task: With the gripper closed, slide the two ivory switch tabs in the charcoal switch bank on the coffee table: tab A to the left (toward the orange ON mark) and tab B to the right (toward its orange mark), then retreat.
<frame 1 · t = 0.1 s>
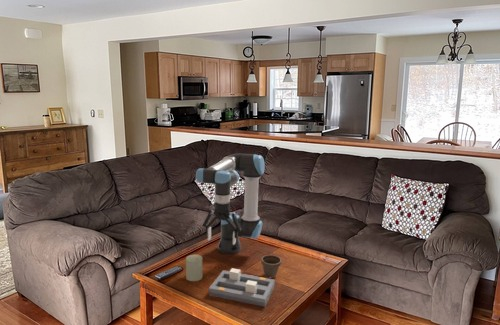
hand: (221, 241, 191), 28 cm above the table, fingers open, 13 cm apart
tab a: (234, 275, 202), point 5 cm above the table, slide at -6.0 cm
switch bank: (242, 290, 197), on the table
tab b: (251, 288, 190), point 5 cm above the table, slide at 6.0 cm
flower pot: (270, 275, 214), on the table
can: (194, 277, 210), on the table
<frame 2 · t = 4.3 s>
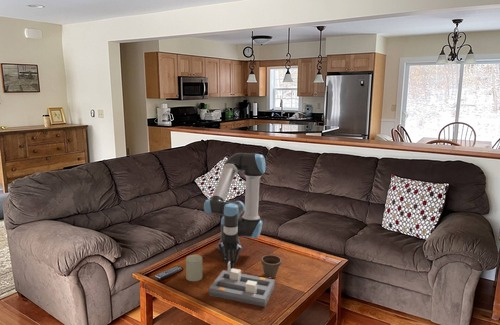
hand: (229, 273, 203), 6 cm above the table, fingers closed
tab a: (235, 275, 202), point 5 cm above the table, slide at -5.9 cm, touching gripper
everything else where it was.
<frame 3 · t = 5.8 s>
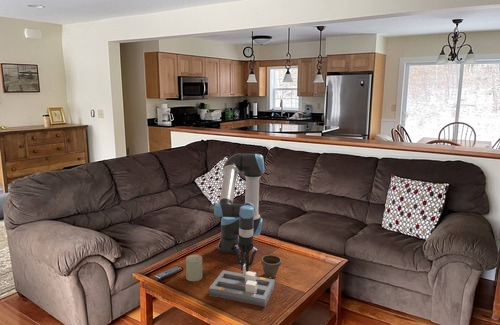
hand: (244, 276, 200), 6 cm above the table, fingers closed
tab a: (250, 278, 200), point 5 cm above the table, slide at 2.8 cm, touching gripper
everything else where it was.
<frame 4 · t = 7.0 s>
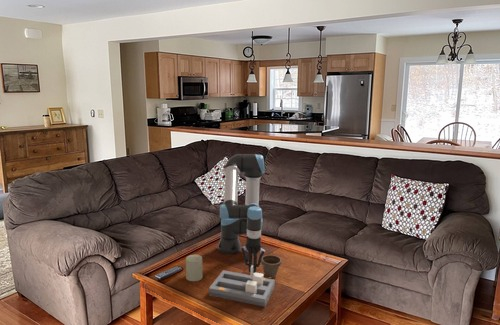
hand: (252, 277, 199), 6 cm above the table, fingers closed
tab a: (258, 280, 199), point 5 cm above the table, slide at 7.0 cm, touching gripper
everything else where it was.
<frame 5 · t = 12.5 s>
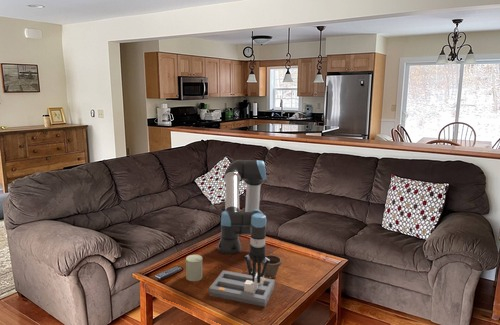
hand: (256, 287, 190), 6 cm above the table, fingers closed
tab a: (258, 280, 198), point 5 cm above the table, slide at 7.2 cm
tab b: (249, 287, 191), point 5 cm above the table, slide at 5.3 cm, touching gripper
everything else where it was.
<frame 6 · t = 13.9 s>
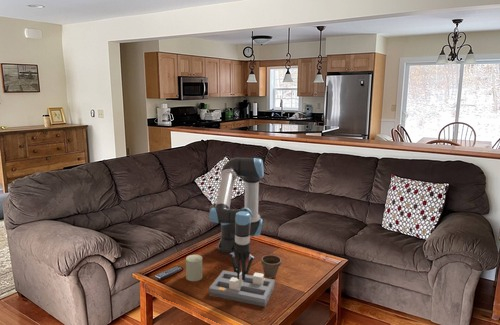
hand: (241, 285, 192), 6 cm above the table, fingers closed
tab b: (235, 285, 193), point 5 cm above the table, slide at -2.8 cm, touching gripper
everything else where it was.
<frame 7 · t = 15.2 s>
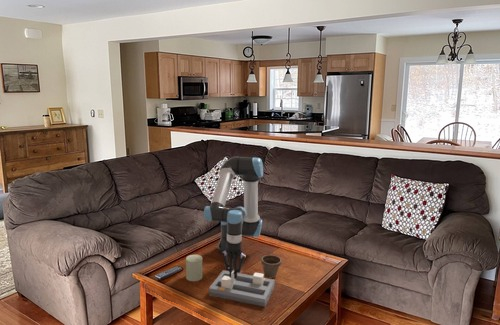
hand: (233, 283, 193), 6 cm above the table, fingers closed
tab b: (227, 283, 194), point 5 cm above the table, slide at -7.1 cm, touching gripper
everything else where it was.
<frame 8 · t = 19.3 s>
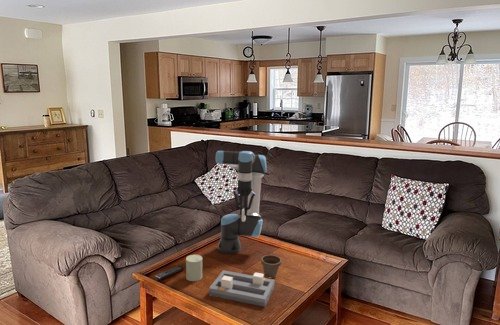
hand: (243, 220, 208), 32 cm above the table, fingers closed
tab b: (227, 283, 194), point 5 cm above the table, slide at -7.2 cm
everything else where it was.
at the end: tab a slide at 7.2 cm; tab b slide at -7.2 cm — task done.
